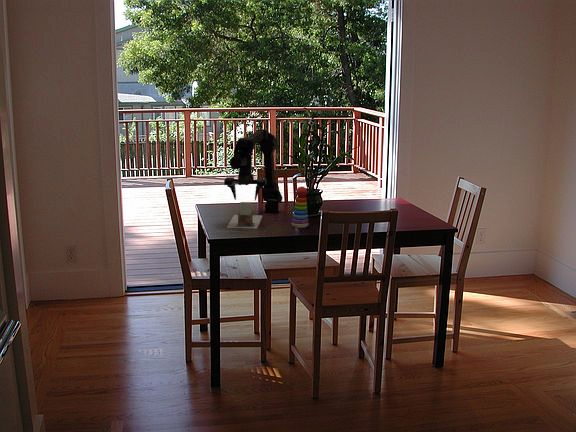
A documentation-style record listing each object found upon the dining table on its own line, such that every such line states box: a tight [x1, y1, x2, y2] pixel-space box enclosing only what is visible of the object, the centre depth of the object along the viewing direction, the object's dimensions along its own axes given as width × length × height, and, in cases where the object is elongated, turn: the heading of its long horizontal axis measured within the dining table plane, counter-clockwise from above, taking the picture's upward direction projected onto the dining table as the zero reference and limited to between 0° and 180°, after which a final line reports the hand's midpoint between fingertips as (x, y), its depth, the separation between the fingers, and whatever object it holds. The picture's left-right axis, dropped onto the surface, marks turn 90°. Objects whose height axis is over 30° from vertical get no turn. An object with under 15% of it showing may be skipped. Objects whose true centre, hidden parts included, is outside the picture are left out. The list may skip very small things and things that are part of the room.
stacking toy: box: [291, 186, 309, 229], centre depth 318 cm, size 8×8×19 cm
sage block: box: [239, 201, 253, 215], centre depth 315 cm, size 5×5×5 cm
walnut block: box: [237, 212, 254, 226], centre depth 316 cm, size 6×6×5 cm
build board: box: [225, 214, 263, 229], centre depth 325 cm, size 14×27×1 cm, turn 176°
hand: (245, 200), depth 315 cm, fingers open, 9 cm apart
